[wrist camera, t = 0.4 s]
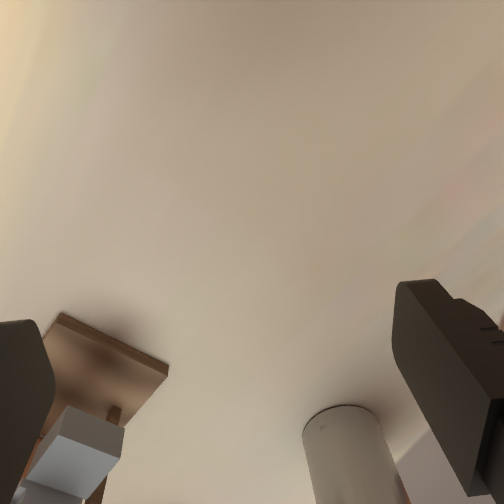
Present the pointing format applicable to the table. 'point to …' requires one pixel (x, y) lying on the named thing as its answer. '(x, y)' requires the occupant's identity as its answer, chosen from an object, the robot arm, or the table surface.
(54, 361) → the catapult stand
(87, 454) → the grey angular piece
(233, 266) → the table surface
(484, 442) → the robot arm
